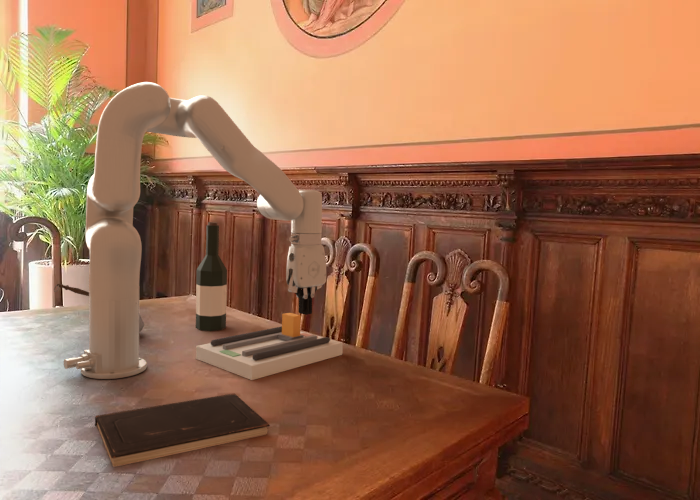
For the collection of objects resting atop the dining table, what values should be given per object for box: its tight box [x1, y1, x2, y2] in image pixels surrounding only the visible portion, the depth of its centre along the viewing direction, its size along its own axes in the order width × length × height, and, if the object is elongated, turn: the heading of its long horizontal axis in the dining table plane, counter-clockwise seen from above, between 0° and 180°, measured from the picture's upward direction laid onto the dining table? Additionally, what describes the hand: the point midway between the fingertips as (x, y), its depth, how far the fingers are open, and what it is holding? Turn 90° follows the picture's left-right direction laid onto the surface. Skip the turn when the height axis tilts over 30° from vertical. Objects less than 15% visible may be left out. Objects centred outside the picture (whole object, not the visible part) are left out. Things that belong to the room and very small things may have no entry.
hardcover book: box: [94, 393, 271, 468], centre depth 85 cm, size 16×23×2 cm
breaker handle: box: [278, 312, 304, 341], centre depth 131 cm, size 4×5×6 cm
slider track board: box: [195, 330, 344, 381], centre depth 127 cm, size 28×20×4 cm
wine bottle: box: [195, 221, 228, 332], centre depth 151 cm, size 8×8×30 cm
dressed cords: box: [210, 325, 330, 360], centre depth 126 cm, size 23×16×1 cm
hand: (305, 313), depth 134 cm, fingers closed
